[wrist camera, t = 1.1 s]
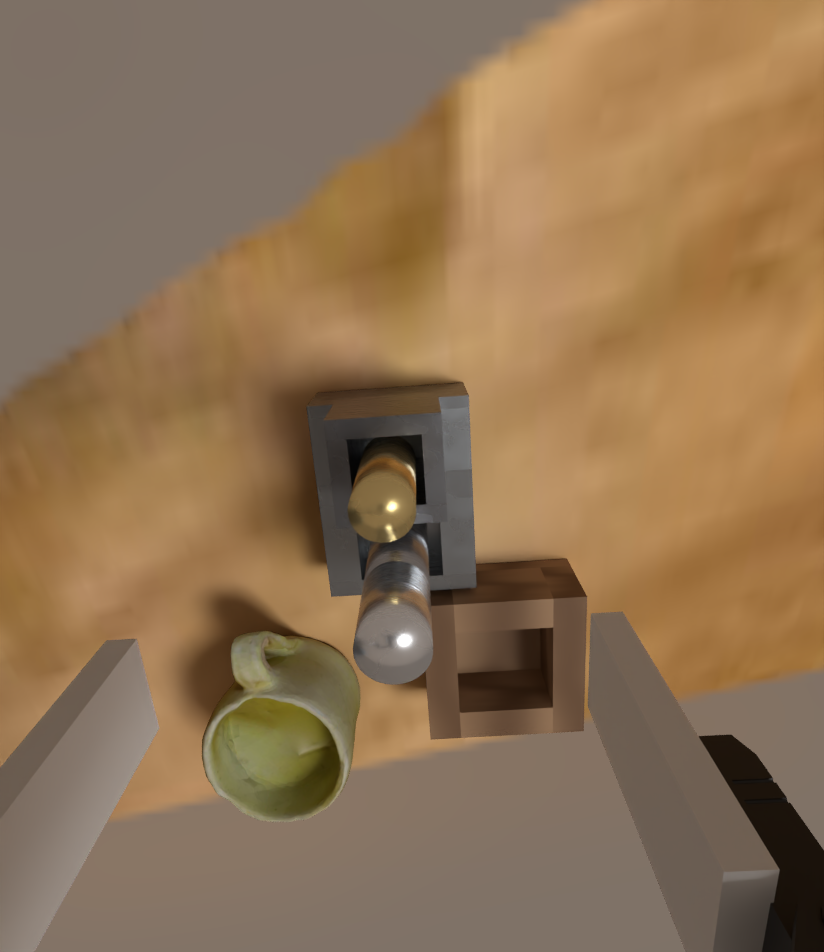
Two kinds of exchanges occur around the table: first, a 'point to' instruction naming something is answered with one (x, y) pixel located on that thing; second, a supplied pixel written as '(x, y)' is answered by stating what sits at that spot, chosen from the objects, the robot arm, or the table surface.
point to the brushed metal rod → (396, 610)
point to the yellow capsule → (384, 490)
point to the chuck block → (437, 475)
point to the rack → (509, 652)
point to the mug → (283, 727)
